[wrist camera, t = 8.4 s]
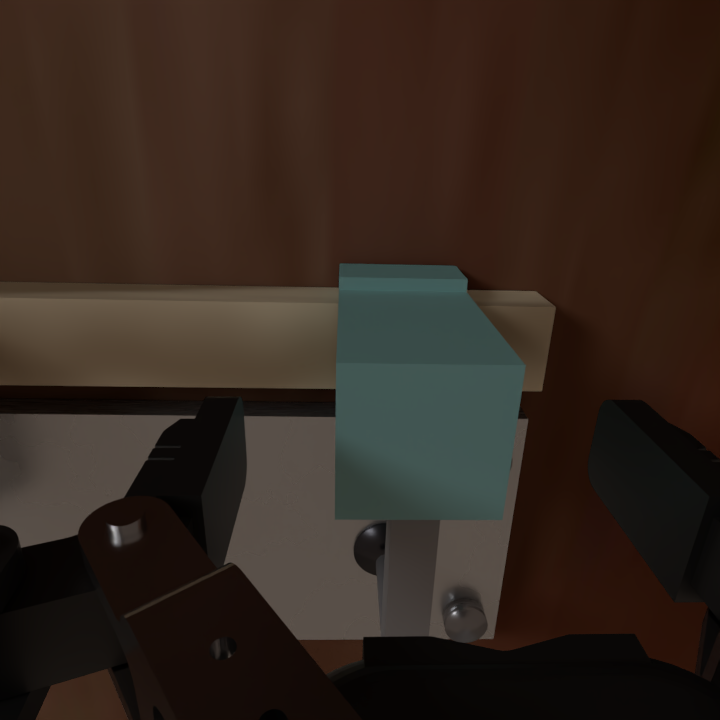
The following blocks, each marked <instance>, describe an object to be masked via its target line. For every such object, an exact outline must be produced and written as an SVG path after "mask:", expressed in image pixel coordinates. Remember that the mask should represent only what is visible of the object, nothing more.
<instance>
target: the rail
mask: <svg viewBox="0 0 720 720" xmlns="http://www.w3.org/2000/svg"><path fill="white" fill-rule="evenodd" d="M467 293H468V294H469V296H470V297H471V298H472V299H473V301H474V302H475V303H476V304H477V306H478V307H479V308H480V309H481V311H482V312H483V313H484V314H485V315H486V317H487V318H488V319H489V320H490V322H491V323H492V324H493V325H494V327H495V328H496V329H497V330H498V332H499V333H500V334H501V335H502V337H503V338H504V339H505V340H506V342H507V343H508V344H509V345H510V346H511V348H512V349H513V350H514V351H515V353H516V354H517V355H518V356H519V358H520V359H521V360H522V361H523V363H524V364H525V365H526V368H525V374H524V381H523V387H522V391H542V388H543V382H544V376H545V370H546V364H547V358H548V352H549V346H550V340H551V334H552V328H553V322H554V316H555V310H556V307H555V306H554V305H553V304H551V303H550V302H549V301H548V300H546V299H545V298H544V297H542V296H541V295H540V294H539V293H537V292H536V291H497V290H467ZM338 302H339V288H328V287H271V286H215V285H159V284H102V283H46V282H0V385H33V386H120V387H207V388H294V389H336V353H337V327H338Z"/></svg>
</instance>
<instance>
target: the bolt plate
mask: <svg viewBox="0 0 720 720" xmlns="http://www.w3.org/2000/svg"><path fill="white" fill-rule="evenodd" d="M202 403H203V401H166V400H72V399H0V525H4V526H7V527H10V528H11V529H13V530H14V531H15V532H16V533H17V535H18V538H19V542H20V545H21V548H22V547H27V546H31V545H36V544H41V543H45V542H50V541H55V540H59V539H64V538H68V537H71V536H74V535H77V534H78V531H79V528H80V526H81V524H82V522H83V521H84V520H85V519H86V518H87V516H89V515H90V514H91V513H92V512H93V511H95V510H96V509H98V508H99V507H101V506H103V505H105V504H107V503H110V502H112V501H115V500H118V499H121V498H124V496H125V495H126V493H127V491H128V490H129V488H130V486H131V485H132V483H133V481H134V480H135V478H136V476H137V475H138V473H139V471H140V469H141V468H142V466H143V464H144V463H145V461H146V460H148V456H149V454H150V453H151V451H152V449H153V448H155V444H156V443H157V441H158V439H159V437H160V436H161V434H162V432H163V431H164V430H165V429H167V428H168V427H170V426H171V425H172V424H174V423H175V422H177V421H178V420H179V419H195V417H196V415H197V413H198V411H199V409H200V407H201V405H202ZM243 408H244V423H245V438H246V453H247V474H246V483H245V488H244V492H243V495H242V499H241V503H240V507H239V510H238V514H237V518H236V521H235V525H234V529H233V533H232V536H231V540H230V544H229V547H228V551H227V555H226V559H225V562H224V565H225V564H227V563H229V562H231V563H234V564H235V565H237V566H238V567H239V568H240V569H241V570H242V572H243V573H244V574H245V575H246V577H247V578H248V579H249V580H250V581H251V583H252V584H253V585H254V586H255V588H256V589H257V590H258V591H259V593H260V594H261V595H262V596H263V598H264V599H265V600H266V601H267V602H268V604H269V605H270V606H271V607H272V609H273V610H274V611H275V612H276V614H277V615H278V616H279V617H280V619H281V620H282V621H283V622H284V623H285V625H286V626H287V627H288V628H289V630H290V631H291V632H292V633H293V635H294V636H295V637H296V638H297V640H334V639H363V637H380V636H381V629H380V615H379V602H378V588H377V574H376V560H377V559H378V557H380V556H381V555H384V554H385V542H386V523H387V520H335V430H336V402H259V401H243ZM527 425H528V418H527V416H526V415H525V413H524V412H523V410H522V409H521V407H519V414H518V421H517V427H516V434H515V440H514V447H513V454H512V460H511V467H510V473H509V480H508V487H507V493H506V500H505V507H504V513H503V520H440V528H439V538H438V548H437V559H436V569H435V579H434V589H433V599H432V609H431V620H430V630H429V636H433V637H437V638H442V639H452V640H454V641H456V642H461V643H467V642H472V641H475V640H477V639H493V638H494V632H495V625H496V619H497V613H498V607H499V600H500V594H501V588H502V582H503V575H504V569H505V563H506V556H507V550H508V544H509V538H510V531H511V525H512V519H513V513H514V506H515V500H516V494H517V487H518V481H519V475H520V469H521V462H522V456H523V450H524V444H525V437H526V431H527Z"/></svg>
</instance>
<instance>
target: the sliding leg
mask: <svg viewBox="0 0 720 720" xmlns="http://www.w3.org/2000/svg"><path fill="white" fill-rule="evenodd" d="M467 283H468V279H467V278H466V277H465V276H464V275H463V273H462V272H461V271H460V270H459V269H458V268H457V267H456V266H442V265H390V264H340V268H339V302H338V327H337V353H336V430H335V520H387V523H386V542H385V554H384V555H381V556H380V557H378V559H377V560H376V574H377V588H378V602H379V615H380V629H381V636H380V637H399V636H429V630H430V620H431V609H432V599H433V589H434V579H435V569H436V559H437V548H438V538H439V528H440V520H503V513H504V507H505V500H506V493H507V487H508V480H509V473H510V467H511V460H512V454H513V447H514V440H515V434H516V427H517V421H518V414H519V407H520V401H521V394H522V387H523V381H524V374H525V368H526V365H525V364H524V363H523V361H522V360H521V359H520V358H519V356H518V355H517V354H516V353H515V351H514V350H513V349H512V348H511V346H510V345H509V344H508V343H507V342H506V340H505V339H504V338H503V337H502V335H501V334H500V333H499V332H498V330H497V329H496V328H495V327H494V325H493V324H492V323H491V322H490V320H489V319H488V318H487V317H486V315H485V314H484V313H483V312H482V311H481V309H480V308H479V307H478V306H477V304H476V303H475V302H474V301H473V299H472V298H471V297H470V296H469V294H468V293H467Z"/></svg>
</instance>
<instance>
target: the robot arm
mask: <svg viewBox="0 0 720 720" xmlns="http://www.w3.org/2000/svg"><path fill="white" fill-rule="evenodd" d="M719 460H720V459H719V458H717V457H716V456H715V455H714V454H713V453H712V452H710V451H706V447H705V446H703V445H702V444H701V443H700V442H699V441H698V440H697V439H695V438H694V437H693V436H692V435H691V434H689V433H687V432H685V431H684V430H682V429H680V428H678V427H676V426H674V425H672V424H670V423H668V422H667V421H666V420H665V419H664V418H662V417H661V416H660V415H659V414H658V413H657V412H656V411H654V410H653V409H652V408H651V407H650V406H649V405H648V404H647V403H645V402H644V401H642V400H606V401H604V402H603V403H602V405H601V407H600V410H599V414H598V418H597V423H596V427H595V432H594V436H593V441H592V445H591V450H590V455H589V459H588V474H589V479H590V482H591V485H592V487H593V488H594V490H595V491H596V493H597V494H598V496H599V497H600V498H601V500H602V501H603V503H604V504H605V505H606V507H607V508H608V510H609V511H610V512H611V514H612V515H613V517H614V518H615V519H616V521H617V522H618V524H619V525H620V526H621V528H622V529H623V531H624V532H625V533H626V535H627V536H628V538H629V539H630V540H631V542H632V543H633V545H634V546H635V548H636V549H637V550H638V552H639V553H640V555H641V556H642V557H643V559H644V560H645V562H646V563H647V564H648V566H649V567H650V569H651V570H652V571H653V573H654V574H655V576H656V577H657V578H658V580H659V581H660V583H661V584H662V585H663V587H664V588H665V590H666V591H667V592H668V594H669V595H670V597H671V598H672V599H673V601H674V602H705V603H706V605H707V606H708V608H707V611H706V613H705V616H704V619H703V622H702V628H701V635H700V641H699V648H698V655H697V662H696V669H695V674H694V673H692V672H690V671H687V670H685V669H682V668H680V667H677V666H675V665H672V664H669V663H665V662H662V661H659V660H656V659H651V658H649V657H648V656H647V654H646V652H645V651H644V649H643V647H642V646H641V644H640V642H639V640H638V639H637V637H636V635H635V634H572V635H565V636H562V637H558V638H554V639H551V640H547V641H543V642H540V643H536V644H532V645H529V646H525V647H522V648H518V649H514V650H510V651H500V650H494V649H490V648H485V647H480V646H475V645H471V644H466V643H461V642H456V641H452V640H447V639H442V638H437V637H433V636H399V637H363V657H362V660H361V661H358V662H354V663H350V664H348V665H345V666H343V667H340V668H338V669H336V670H334V671H332V672H330V673H328V674H325V673H324V672H323V670H322V669H321V668H320V667H319V666H318V664H317V663H316V662H315V661H314V659H313V658H312V657H311V656H310V654H309V653H308V652H307V651H306V649H305V648H304V647H303V646H302V645H301V643H300V642H299V641H298V640H297V638H296V637H295V636H294V635H293V633H292V632H291V631H290V630H289V628H288V627H287V626H286V625H285V623H284V622H283V621H282V620H281V619H280V617H279V616H278V615H277V614H276V612H275V611H274V610H273V609H272V607H271V606H270V605H269V604H268V602H267V601H266V600H265V599H264V598H263V596H262V595H261V594H260V593H259V591H258V590H257V589H256V588H255V586H254V585H253V584H252V583H251V581H250V580H249V579H248V578H247V577H246V575H245V574H244V573H243V572H242V570H241V569H240V568H239V567H238V566H237V565H235V564H234V563H231V562H229V563H227V564H225V565H224V562H225V559H226V555H227V551H228V547H229V544H230V540H231V536H232V533H233V529H234V525H235V521H236V518H237V514H238V510H239V507H240V503H241V499H242V495H243V492H244V488H245V483H246V474H247V453H246V438H245V423H244V408H243V401H242V398H241V397H206V398H205V399H204V401H203V403H202V405H201V407H200V409H199V411H198V413H197V415H196V417H195V419H179V420H178V421H177V422H175V423H174V424H172V425H171V426H170V427H168V428H167V429H165V430H164V431H163V432H162V434H161V436H160V437H159V439H158V441H157V443H156V444H155V448H153V449H152V451H151V453H150V454H149V456H148V460H146V461H145V463H144V464H143V466H142V468H141V469H140V471H139V473H138V475H137V476H136V478H135V480H134V481H133V483H132V485H131V486H130V488H129V490H128V491H127V493H126V495H125V496H124V498H121V499H118V500H115V501H112V502H110V503H107V504H105V505H103V506H101V507H99V508H98V509H96V510H95V511H93V512H92V513H91V514H90V515H89V516H87V518H86V519H85V520H84V521H83V522H82V524H81V526H80V528H79V531H78V534H77V535H74V536H71V537H68V538H64V539H59V540H55V541H50V542H45V543H41V544H36V545H31V546H27V547H22V548H21V545H20V542H19V538H18V535H17V533H16V532H15V531H14V530H13V529H11V528H10V527H7V526H4V525H0V720H35V719H36V717H37V715H38V713H39V710H40V708H41V706H42V704H43V702H44V700H45V697H46V695H47V693H48V691H49V689H50V686H51V685H54V684H57V683H61V682H64V681H67V680H71V679H74V678H77V677H81V676H84V675H87V674H91V673H94V672H98V671H101V670H104V669H108V672H109V674H110V677H111V679H112V681H113V684H114V686H115V689H116V691H117V693H118V696H119V698H120V701H121V703H122V705H123V708H124V710H125V713H126V715H127V717H128V720H720V461H719Z"/></svg>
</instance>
